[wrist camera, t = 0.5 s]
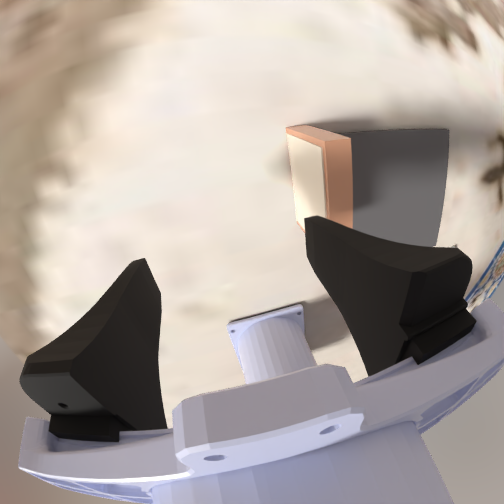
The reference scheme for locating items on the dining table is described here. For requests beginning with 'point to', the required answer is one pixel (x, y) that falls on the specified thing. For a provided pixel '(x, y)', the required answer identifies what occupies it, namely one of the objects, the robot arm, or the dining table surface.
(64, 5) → the dining table surface
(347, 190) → the terracotta tile
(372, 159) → the mat
